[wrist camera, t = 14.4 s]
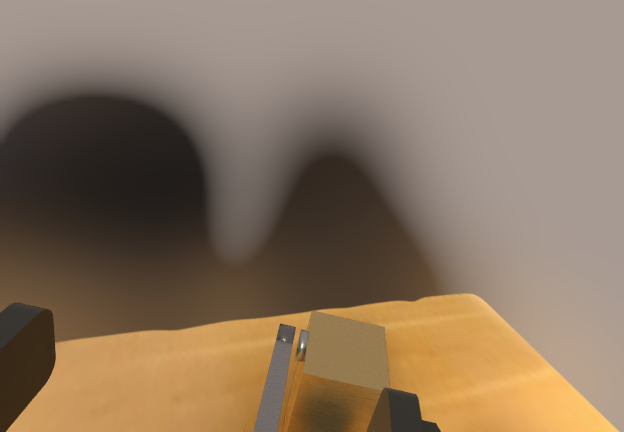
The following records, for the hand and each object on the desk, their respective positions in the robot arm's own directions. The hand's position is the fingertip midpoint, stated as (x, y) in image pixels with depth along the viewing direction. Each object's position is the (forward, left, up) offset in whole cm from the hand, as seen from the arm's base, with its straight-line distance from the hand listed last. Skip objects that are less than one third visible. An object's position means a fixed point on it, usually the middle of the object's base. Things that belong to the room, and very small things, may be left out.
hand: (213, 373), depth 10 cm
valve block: (+8, +26, -36) cm, 45 cm away
